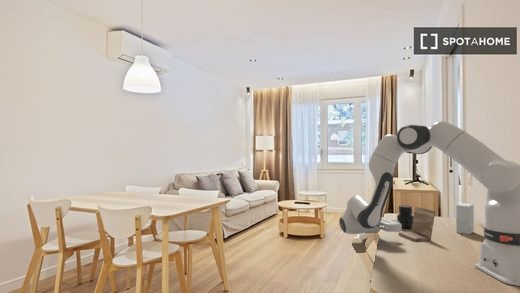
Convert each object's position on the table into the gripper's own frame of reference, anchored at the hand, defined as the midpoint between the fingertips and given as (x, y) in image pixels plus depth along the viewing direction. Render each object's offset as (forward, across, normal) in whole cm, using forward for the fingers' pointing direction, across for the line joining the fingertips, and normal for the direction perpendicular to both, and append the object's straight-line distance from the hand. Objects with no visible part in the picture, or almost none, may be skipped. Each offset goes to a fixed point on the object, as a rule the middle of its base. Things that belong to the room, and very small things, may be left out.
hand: (397, 222), depth 150 cm
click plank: (+13, 0, +8) cm, 15 cm away
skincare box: (+42, +3, +8) cm, 43 cm away
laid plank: (+8, 0, +8) cm, 11 cm away
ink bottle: (+19, +19, +8) cm, 28 cm away
